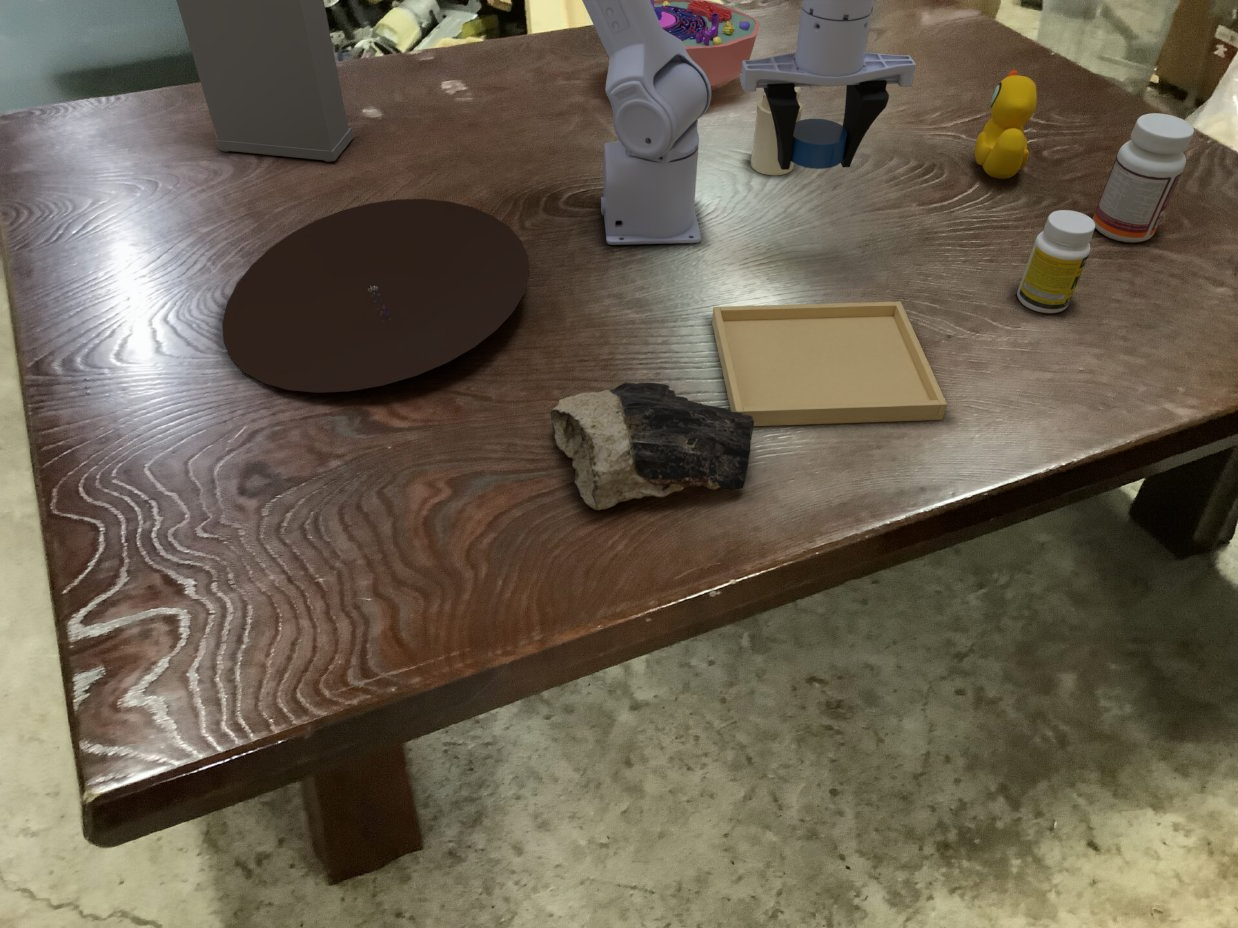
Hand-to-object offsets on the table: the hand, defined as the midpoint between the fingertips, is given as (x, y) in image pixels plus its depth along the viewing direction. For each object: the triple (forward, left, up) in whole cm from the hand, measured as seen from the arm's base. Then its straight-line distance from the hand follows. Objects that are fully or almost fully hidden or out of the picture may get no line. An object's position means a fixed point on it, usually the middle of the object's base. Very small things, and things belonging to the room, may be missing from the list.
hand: (814, 163), depth 89 cm
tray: (-1, -17, -10) cm, 20 cm away
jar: (+1, +20, -10) cm, 22 cm away
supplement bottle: (+22, -8, -11) cm, 25 cm away
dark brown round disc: (-40, -6, -11) cm, 42 cm away
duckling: (+26, +17, -11) cm, 33 cm away
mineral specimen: (-16, -27, -11) cm, 33 cm away
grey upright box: (-54, +26, -11) cm, 61 cm away
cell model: (-8, +39, -11) cm, 42 cm away
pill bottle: (+35, +4, -11) cm, 37 cm away
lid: (0, 0, +3) cm, 3 cm away
